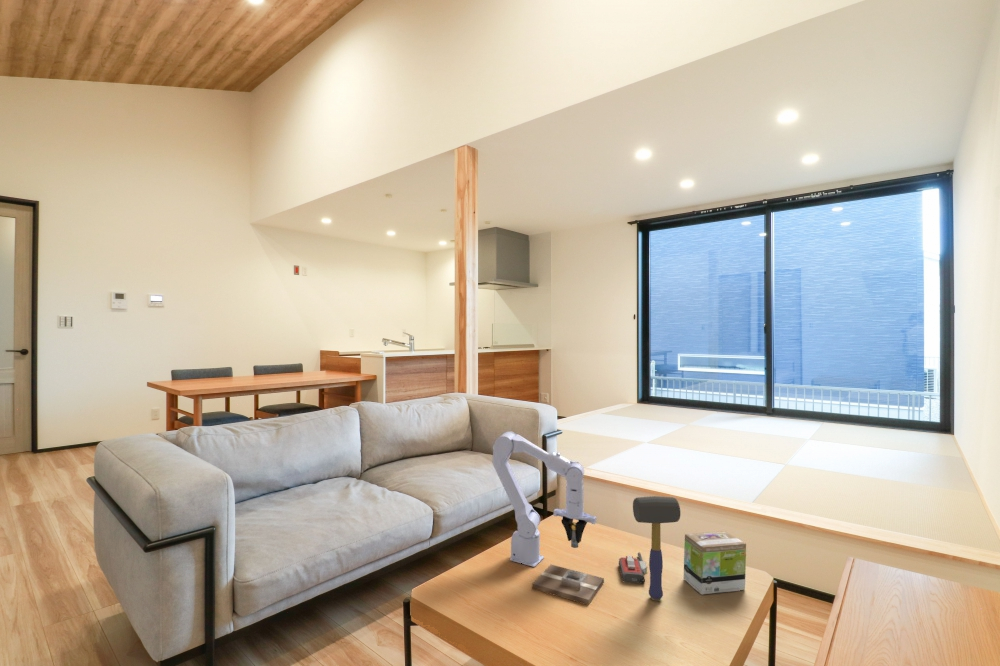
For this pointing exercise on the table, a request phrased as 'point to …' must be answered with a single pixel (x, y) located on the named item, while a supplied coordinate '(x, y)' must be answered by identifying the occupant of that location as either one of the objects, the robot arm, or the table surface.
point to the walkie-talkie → (633, 569)
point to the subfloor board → (553, 584)
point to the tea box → (714, 562)
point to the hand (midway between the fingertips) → (574, 540)
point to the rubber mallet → (656, 533)
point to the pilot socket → (575, 575)
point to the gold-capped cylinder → (573, 535)
